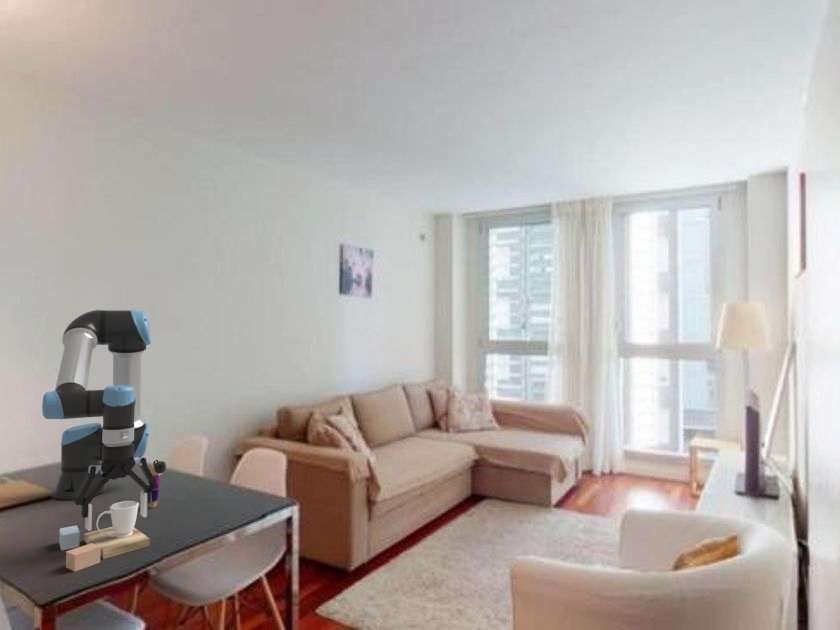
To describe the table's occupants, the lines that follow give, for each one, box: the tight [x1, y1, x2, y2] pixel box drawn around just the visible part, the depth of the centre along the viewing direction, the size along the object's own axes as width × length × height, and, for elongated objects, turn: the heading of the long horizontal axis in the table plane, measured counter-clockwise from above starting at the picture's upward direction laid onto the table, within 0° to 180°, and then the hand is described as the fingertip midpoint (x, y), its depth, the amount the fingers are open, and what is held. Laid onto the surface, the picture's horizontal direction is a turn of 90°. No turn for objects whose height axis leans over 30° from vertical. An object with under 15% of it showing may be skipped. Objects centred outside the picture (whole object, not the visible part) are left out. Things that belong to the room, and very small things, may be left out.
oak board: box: [83, 526, 151, 560], centre depth 145 cm, size 16×11×2 cm
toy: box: [147, 459, 167, 509], centre depth 174 cm, size 10×6×15 cm, turn 5°
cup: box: [96, 500, 140, 538], centre depth 146 cm, size 7×10×8 cm
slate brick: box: [58, 525, 81, 552], centre depth 144 cm, size 6×4×4 cm, turn 38°
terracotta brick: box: [65, 543, 101, 572], centre depth 133 cm, size 6×4×4 cm, turn 149°
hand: (116, 522), depth 146 cm, fingers open, 13 cm apart
